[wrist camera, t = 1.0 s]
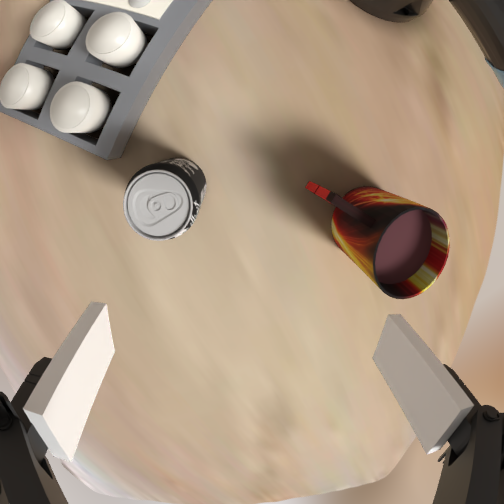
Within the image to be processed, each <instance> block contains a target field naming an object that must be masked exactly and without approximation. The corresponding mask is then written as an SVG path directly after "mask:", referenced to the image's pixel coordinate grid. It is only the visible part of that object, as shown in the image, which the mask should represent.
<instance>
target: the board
mask: <svg viewBox="0 0 504 504" xmlns="http://www.w3.org/2000/svg"><path fill="white" fill-rule="evenodd" d="M51 1H54V0H50V2H51ZM64 1H66V2H67V3H68V4H69V5H71V6H72V7H73V8H74V9H76V10H77V11H78V12H79V13H81V14H82V15H83V16H85V17H89V20H88V21H87V23H86V24H85V26H84V28H83V29H82V31H81V32H80V34H79V36H78V37H77V39H76V41H75V43H74V44H73V46H72V48H71V50H70V51H69V53H68V55H67V56H66V55H63V54H60V53H56V52H52V50H53V48H52V47H50V46H48V45H46V44H44V43H41V42H39V41H37V40H35V39H33V38H32V37H31V35H29V37H28V39H27V40H26V42H25V44H24V46H23V48H22V50H21V52H20V54H19V56H18V58H17V60H16V62H15V65H16V64H19V63H25V64H28V65H32V66H35V67H38V68H41V69H43V68H44V66H47V67H51V68H54V69H57V70H60V71H59V73H58V75H57V77H56V79H55V81H54V83H53V85H52V87H51V90H50V92H49V94H48V96H47V99H46V101H45V103H44V106H43V108H42V111H41V113H40V114H39V113H37V112H34V111H32V110H25V109H10V108H5V107H4V106H3V105H2V104H1V102H0V112H2V113H4V114H6V115H9V116H11V117H13V118H16V119H18V120H20V121H22V122H25V123H27V124H29V125H31V126H34V127H36V128H38V129H40V130H42V131H45V132H47V133H49V134H51V135H53V136H56V137H58V138H60V139H62V140H64V141H67V142H69V143H71V144H73V145H75V146H77V147H80V148H82V149H84V150H86V151H88V152H90V153H93V154H95V155H97V156H99V157H101V158H103V159H105V160H110V159H116V158H121V155H122V153H123V151H124V149H125V146H126V144H127V142H128V140H129V138H130V136H131V134H132V131H133V129H134V127H135V125H136V123H137V121H138V119H139V117H140V115H141V113H142V111H143V109H144V107H145V106H146V104H147V102H148V100H149V98H150V96H151V94H152V92H153V91H154V89H155V87H156V85H157V84H158V82H159V80H160V78H161V77H162V75H163V73H164V71H165V70H166V68H167V66H168V65H169V63H170V61H171V60H172V58H173V57H174V55H175V53H176V52H177V50H178V49H179V47H180V46H181V44H182V42H183V41H184V39H185V38H186V36H187V35H188V33H189V32H190V31H191V29H192V28H193V26H194V25H195V23H196V22H197V20H198V19H199V18H200V16H201V15H202V14H203V12H204V11H205V9H206V8H207V7H208V5H209V4H210V3H211V1H212V0H64ZM112 12H123V13H126V14H128V15H129V16H131V18H132V19H133V20H134V21H135V23H136V24H137V25H138V26H139V28H140V29H141V30H142V32H143V33H146V34H149V35H152V36H154V37H153V38H152V40H151V41H150V43H149V44H148V46H147V47H146V49H145V51H144V52H143V54H142V56H141V57H140V59H139V61H138V62H137V64H136V66H135V68H134V69H133V71H132V73H131V75H130V76H129V77H128V76H125V75H123V74H120V73H117V72H115V71H112V70H109V69H106V68H103V67H101V66H102V64H103V61H101V60H100V59H98V58H96V57H95V56H93V55H91V54H90V53H89V51H88V50H87V48H86V36H87V33H88V31H89V29H90V28H91V26H92V25H93V24H94V23H95V22H96V21H97V20H98V19H99V18H101V17H102V16H104V15H106V14H109V13H112ZM75 81H78V82H83V83H85V84H88V85H92V83H93V82H94V83H97V84H100V85H102V86H105V87H107V88H110V89H113V90H115V91H118V92H120V95H119V97H118V99H117V101H116V103H115V105H114V107H113V109H112V111H111V113H110V115H109V117H108V120H107V122H106V124H105V126H104V128H103V130H102V133H101V135H100V137H99V139H96V138H94V137H92V136H90V135H87V134H85V133H64V132H61V131H59V130H57V129H56V128H55V127H54V126H53V124H52V122H51V119H50V106H51V102H52V100H53V98H54V96H55V94H56V93H57V92H58V90H59V89H60V88H61V87H63V86H64V85H66V84H68V83H70V82H75Z"/></svg>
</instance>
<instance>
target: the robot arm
mask: <svg viewBox="0 0 504 504" xmlns="http://www.w3.org/2000/svg"><path fill="white" fill-rule="evenodd" d="M351 1H352V2H353V3H354V4H356V5H357V6H358V7H360V8H361V9H363V10H364V11H366V12H368V13H370V14H371V15H374V16H376V17H378V18H381V19H384V20H387V21H392V22H407V21H411V20H413V19H415V18H417V17H419V16H420V15H422V14H423V13H424V12H425V11H426V10H427V9H428V7H429V6H430V4H431V3H432V1H433V0H351ZM449 1H450V3H451V4H452V5H453V7H454V8H455V9H456V11H457V12H458V14H459V15H460V16H461V18H462V19H463V21H464V22H465V24H466V26H467V27H468V29H469V30H470V32H471V33H472V35H473V37H474V38H475V40H476V42H477V43H478V45H479V47H480V49H481V50H482V52H483V54H484V56H485V60H486V62H487V63H488V65H489V66H490V67H491V68H492V69H493V71H494V73H495V75H496V77H497V79H498V80H499V82H500V84H501V86H502V87H503V88H504V0H449ZM114 352H115V350H114V345H113V339H112V334H111V329H110V323H109V317H108V311H107V304H106V303H100V302H91V303H90V304H89V306H88V307H87V308H86V310H85V311H84V313H83V314H82V315H81V317H80V318H79V320H78V321H77V323H76V324H75V326H74V327H73V328H72V330H71V331H70V333H69V334H68V336H67V337H66V339H65V340H64V342H63V343H62V345H61V346H60V348H59V349H58V351H57V353H56V354H55V356H54V357H53V359H51V358H47V357H44V358H42V359H41V360H40V361H38V362H37V363H36V364H35V365H34V366H33V368H32V369H31V371H30V372H29V375H27V377H26V378H25V382H23V383H22V385H21V386H20V388H19V390H18V391H17V393H16V395H15V396H14V398H13V400H12V401H11V403H10V401H9V400H8V397H7V396H6V395H5V394H4V393H3V392H0V504H68V502H67V500H66V498H65V496H64V494H63V492H62V490H61V488H60V486H59V484H58V482H57V480H56V478H55V475H54V473H53V471H52V469H51V466H50V464H49V462H48V459H47V458H46V457H45V454H46V451H47V449H49V451H50V452H51V453H52V455H53V456H54V457H57V458H60V459H63V460H66V461H69V462H72V460H73V457H74V454H75V451H76V448H77V445H78V442H79V439H80V437H81V434H82V431H83V428H84V426H85V423H86V420H87V418H88V415H89V412H90V410H91V407H92V405H93V402H94V400H95V397H96V395H97V392H98V390H99V387H100V385H101V382H102V380H103V378H104V375H105V373H106V371H107V368H108V366H109V364H110V361H111V359H112V357H113V355H114ZM373 360H374V362H375V364H376V365H377V367H378V369H379V370H380V372H381V374H382V375H383V377H384V379H385V380H386V382H387V384H388V386H389V387H390V389H391V391H392V393H393V394H394V396H395V398H396V400H397V401H398V403H399V405H400V407H401V408H402V410H403V412H404V414H405V416H406V417H407V419H408V421H409V423H410V425H411V426H412V428H413V430H414V432H415V434H416V435H417V437H418V439H419V441H420V443H421V445H422V447H423V448H424V450H425V452H426V454H429V453H432V452H435V451H437V450H440V449H441V448H442V447H443V445H444V444H445V443H446V442H447V441H448V442H449V444H450V446H449V447H448V449H447V450H446V451H445V452H444V453H443V454H442V455H441V456H440V458H439V459H438V462H440V461H441V460H442V459H443V458H444V457H445V460H444V462H443V463H444V465H443V469H442V473H441V477H440V480H439V484H438V488H437V491H436V495H435V498H434V501H433V504H504V413H499V412H498V410H496V409H495V408H494V407H492V406H489V405H483V406H481V405H480V404H479V402H478V401H477V400H476V398H475V397H474V396H473V394H472V393H471V392H470V390H469V389H468V388H467V387H466V385H464V383H463V382H462V380H461V379H459V377H458V375H457V374H456V373H455V372H454V370H452V369H451V368H450V367H448V366H447V365H446V364H442V363H441V362H440V360H439V359H438V358H437V357H436V356H435V354H434V353H433V352H432V351H431V349H430V348H429V347H428V346H427V345H426V343H425V342H424V341H423V340H422V339H421V338H420V336H419V335H418V334H417V333H416V332H415V330H414V329H413V328H412V327H411V326H410V325H409V323H408V322H407V321H406V320H405V319H404V318H403V317H402V315H401V314H392V315H388V317H387V320H386V322H385V325H384V328H383V331H382V334H381V337H380V339H379V342H378V345H377V347H376V350H375V353H374V355H373Z"/></svg>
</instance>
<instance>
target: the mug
mask: <svg viewBox="0 0 504 504" xmlns="http://www.w3.org/2000/svg"><path fill="white" fill-rule="evenodd" d="M305 188H306V189H308V190H309V191H311V192H313V193H314V194H316V195H318V196H319V197H321V198H323V199H324V200H326V201H328V202H329V203H331V204H333V205H334V206H336V208H335V210H334V213H333V217H332V225H331V228H332V235H333V237H334V240H335V242H336V244H337V245H338V247H339V248H340V249H341V250H342V251H343V252H344V253H345V254H346V255H347V256H348V257H349V258H350V259H351V260H352V261H353V262H354V263H355V264H356V265H357V266H358V267H359V268H360V269H361V270H362V271H363V272H364V273H365V274H366V275H367V276H368V277H369V278H370V279H371V280H372V281H373V282H374V283H375V284H376V285H377V286H378V287H379V288H380V289H381V290H382V291H383V292H384V293H385V294H387V295H388V296H390V297H393V298H396V299H407V298H412V297H414V296H417V295H419V294H421V293H422V292H424V291H425V290H426V289H428V288H429V287H430V286H431V285H432V284H433V283H434V282H435V281H436V280H437V278H438V277H439V275H440V274H441V272H442V270H443V268H444V266H445V264H446V261H447V258H448V253H449V246H450V238H449V232H448V228H447V226H446V223H445V222H444V220H443V218H442V217H441V216H440V215H439V214H438V213H437V212H435V211H434V210H432V209H430V208H428V207H425V206H423V205H420V204H418V203H415V202H413V201H410V200H408V199H405V198H402V197H400V196H397V195H394V194H392V193H389V192H386V191H384V190H381V189H378V188H375V187H370V186H363V187H359V188H356V189H353V190H351V191H350V192H348V193H347V194H346V195H345V196H344V197H343V198H341V197H340V196H338V195H337V194H335V193H333V192H331V191H329V190H327V189H325V188H323V187H321V186H319V185H317V184H315V183H313V182H311V181H309V182H308V184H307V186H306V187H305Z"/></svg>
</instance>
